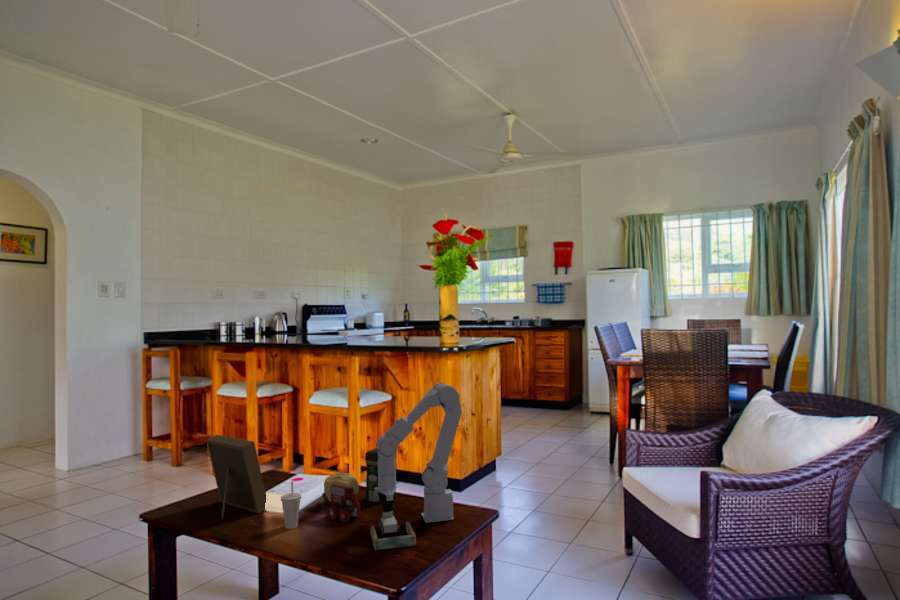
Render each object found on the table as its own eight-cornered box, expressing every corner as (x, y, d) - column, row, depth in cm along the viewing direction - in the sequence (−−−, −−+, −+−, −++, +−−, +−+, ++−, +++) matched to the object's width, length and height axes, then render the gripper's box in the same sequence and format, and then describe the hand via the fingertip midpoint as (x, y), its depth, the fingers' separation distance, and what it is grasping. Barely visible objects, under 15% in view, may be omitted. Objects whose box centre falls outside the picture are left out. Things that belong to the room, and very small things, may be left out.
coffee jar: (376, 493, 201) (376, 444, 201) (394, 496, 197) (393, 446, 198) (361, 501, 192) (361, 450, 193) (380, 504, 189) (379, 452, 189)
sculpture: (319, 507, 187) (319, 476, 188) (336, 496, 199) (336, 467, 199) (348, 510, 184) (348, 478, 184) (364, 498, 195) (363, 469, 196)
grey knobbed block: (396, 524, 170) (396, 510, 170) (399, 533, 163) (399, 518, 163) (379, 526, 168) (378, 512, 168) (381, 535, 162) (381, 520, 162)
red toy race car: (351, 524, 171) (351, 492, 171) (323, 517, 177) (323, 486, 177) (365, 517, 177) (365, 486, 177) (338, 511, 183) (337, 480, 183)
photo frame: (231, 498, 197) (230, 431, 198) (268, 509, 185) (267, 438, 186) (193, 511, 185) (192, 440, 185) (230, 524, 173) (229, 447, 173)
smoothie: (305, 524, 171) (305, 480, 172) (292, 531, 166) (291, 486, 166) (290, 521, 174) (290, 478, 175) (276, 528, 168) (276, 484, 169)
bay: (409, 529, 166) (409, 521, 166) (416, 545, 154) (416, 536, 154) (370, 534, 163) (370, 525, 163) (374, 550, 151) (374, 541, 151)
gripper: (372, 468, 177) (372, 509, 176) (376, 481, 163) (377, 525, 162) (393, 466, 178) (393, 507, 178) (399, 479, 164) (400, 523, 164)
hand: (387, 516), depth 170 cm, fingers closed
